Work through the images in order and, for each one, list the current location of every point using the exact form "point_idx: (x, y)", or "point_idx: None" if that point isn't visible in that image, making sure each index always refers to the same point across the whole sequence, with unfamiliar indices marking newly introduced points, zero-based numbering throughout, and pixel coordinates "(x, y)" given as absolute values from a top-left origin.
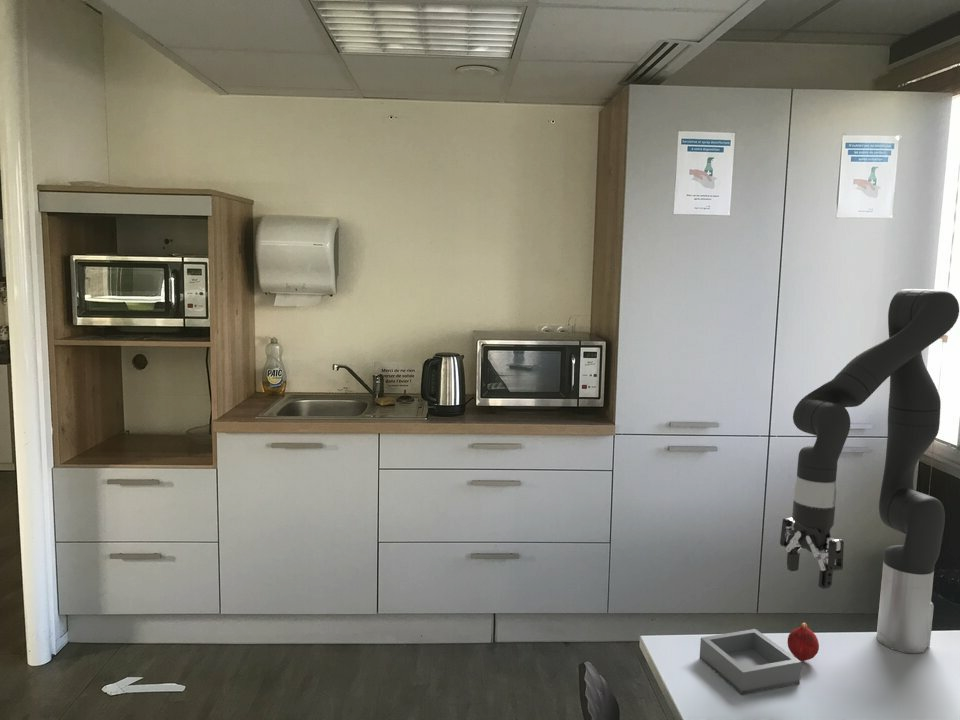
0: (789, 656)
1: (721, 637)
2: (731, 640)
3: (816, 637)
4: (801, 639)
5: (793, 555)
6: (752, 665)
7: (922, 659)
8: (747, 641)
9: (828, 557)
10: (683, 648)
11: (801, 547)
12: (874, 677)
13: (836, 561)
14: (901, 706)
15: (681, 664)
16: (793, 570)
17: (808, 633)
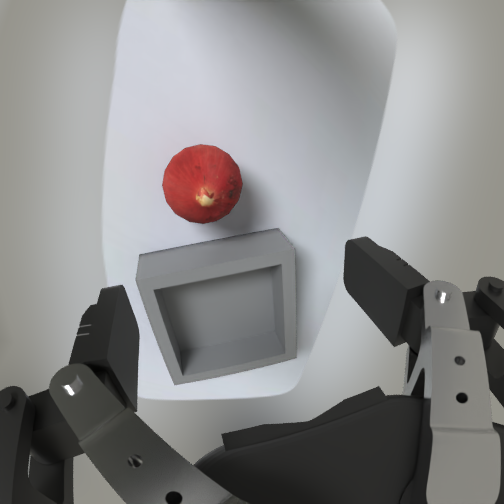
0: (269, 262)
1: (174, 356)
2: (168, 331)
3: (220, 159)
4: (228, 211)
5: (130, 389)
6: (216, 294)
7: None
8: (157, 292)
9: (493, 391)
10: (138, 366)
11: (119, 403)
12: (289, 55)
13: (499, 322)
14: (376, 89)
15: None
16: (132, 311)
17: (227, 193)
